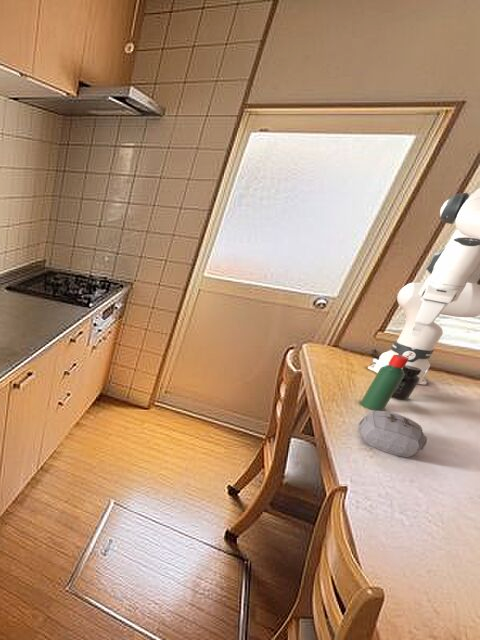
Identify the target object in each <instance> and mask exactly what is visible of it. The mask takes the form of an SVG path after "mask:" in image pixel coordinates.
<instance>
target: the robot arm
mask: <svg viewBox="0 0 480 640" xmlns="http://www.w3.org/2000/svg"><path fill="white" fill-rule="evenodd" d="M439 216H440V218H439V220H440V221H441V223H444V224H448V225H449V224H450V225H453V224H454V226H455V228H456V230H455V232H453V235H452V236H451V237H450V239H449V241H448V243H447V245H446V247H445V248H443V249H441V250H438V251H436V252H435V253H434V254H433V258H432V259H431V261H430V263H429V265H428V266H427V267H426V270H427V271H428V273H429V276H428V277H426V279H425V281H424V282H409V283H407V284H406V285H404V286H403V287H402V288H400V290H398V291H399V292H397V297H396V301H397V303H398V305H399V306H400V308H401V309H402V310H403V312H404V315H405V323H404V326H403V328H402V330H401V333H400V334H399V336H398V338H397V340H395V341H394V342H393V343H392V345H391V347H390V350H387V351H384V352H383V353H381V354H380V355H378V354H376V353H375V352H377V350H376V349H377V348H374V349H373V350H372V353H371V354H372V356H374V357H376V358H378V359H376V358H373V360H372V362H374V363H373V364H371V365H368V367H367V369H368V370H370V371H371V372H374V373H375V374H377V373H378V372H379V370H380V368H382V367H384V366H387V365H389V362H390V360H391V358H392V357H393V355H401V356H405V357H407V358H409V359H408V361H407V363H406V365H408V366H413V367H416V368H419V369H421V372H420V374H419V375H418V377H419V378H420V380H419V382H418V384H417V385H424V386H426V385H427V384H428V381H427V380H426V379H425V375H426V374H427V373H428V370H429V369H430V367H431V363H430V362H429V359H430V358H431V357H432V355H433V353H434V351H435V350H434V349H435V347H436V345H437V344H438V342H439V341H440V339H441V337H442V336H443V333H444V332H443V331H444V330H443V328H442V327H441V326H440V325H439V324H438V323H436V322H435V321H436V319H437V318H438V317H439V316H440V315H442V316H448V317H456V318H476V317H478V316H480V187H478V188H477V189H475V191H473V192H469V193H468V192H460V193H456V194H454V195H452V196H450V197H449V198H448V199H446V201H445V202H444V203H443V204H442V206H441V208H440V211H439ZM402 369H403V368H402Z"/></svg>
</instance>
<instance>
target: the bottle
mask: <svg viewBox="0 0 480 640" xmlns="http://www.w3.org/2000/svg"><path fill="white" fill-rule="evenodd" d="M404 375H405V373H404V371H403V369H402V368H398V367H394V366H391V365H387V366H384V367H382V368H380V370H379V372H378V373H376V375H375V377H374V378H373V380H372V382H371V384H370V385H369V387H368V389H367V390H366V391H365V394H364V396H363V398H362V399H361V401H360V405H361V406H362V407H365V408H367V409H370V410H372V411H385V410H384V409H385V408H386V407H387V404H388V403H389V402H390V400H391V398H393V397H392V395H393V393H394V392H395V390H396V388H397V387H398V385H399V384H400V382H401V380H402V379H403V377H404Z"/></svg>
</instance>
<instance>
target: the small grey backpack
mask: <svg viewBox="0 0 480 640" xmlns="http://www.w3.org/2000/svg"><path fill="white" fill-rule="evenodd" d="M358 426H359V427H358V428H359V434H360V435H361V437H362V439H363V440H364V443H365V444H367V445H368V446H370V447H372V448H374V449H377V450H379V451H382V452H384V453H387V454H391V455H394V456H398V457H403V458H409V457H413V456H414V455H415V454H417V453H419V451H422V450H424V448H425V446H426V445H427V443H428V436H426V435H425V433H424V429H423V428H422V425H420V424H419V423H417V421H414V420H412V419H410V418H409V417H406V416H404V415H401V414H399V413H395V412H390V411H386V410H383V411H377V410H372V411H370V412H369V413H366V414H365V415H364V416H363V418H362V419H361V420H360V422H359V423H358Z"/></svg>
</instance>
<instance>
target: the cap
mask: <svg viewBox="0 0 480 640" xmlns="http://www.w3.org/2000/svg"><path fill="white" fill-rule="evenodd" d="M408 359H409V358H407V357H405V356H401V355H393V357H392V358H391V360H390V362H389V365H391V366H394V367H398V368H404V366H405V365H406V363H407V361H408Z"/></svg>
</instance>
